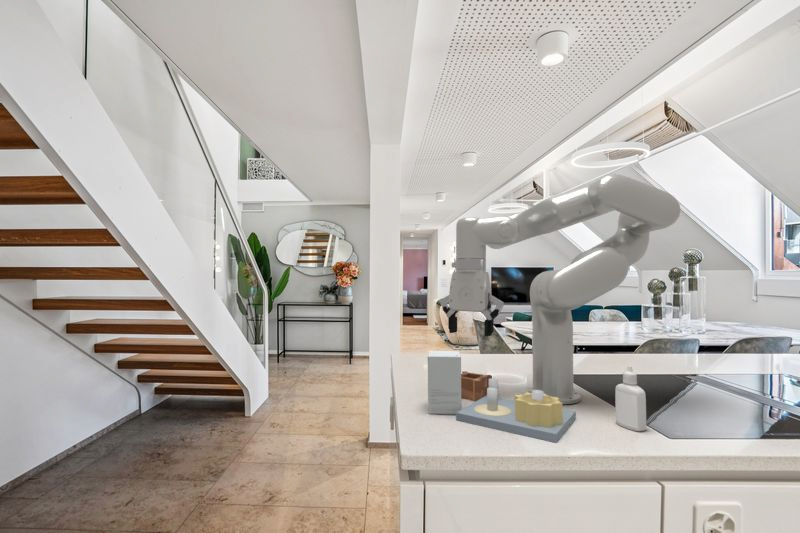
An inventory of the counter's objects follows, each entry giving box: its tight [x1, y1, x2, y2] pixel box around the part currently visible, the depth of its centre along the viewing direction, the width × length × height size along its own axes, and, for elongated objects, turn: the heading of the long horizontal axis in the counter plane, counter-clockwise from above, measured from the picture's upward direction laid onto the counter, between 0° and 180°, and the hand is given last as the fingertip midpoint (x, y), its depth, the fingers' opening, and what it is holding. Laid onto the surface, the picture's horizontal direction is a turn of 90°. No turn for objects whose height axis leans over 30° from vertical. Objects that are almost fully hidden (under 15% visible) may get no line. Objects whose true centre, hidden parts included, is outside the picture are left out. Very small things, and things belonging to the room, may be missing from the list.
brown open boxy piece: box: [461, 371, 493, 402], centre depth 101 cm, size 8×8×5 cm
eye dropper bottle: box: [614, 365, 647, 432], centre depth 80 cm, size 4×6×12 cm
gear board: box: [455, 377, 577, 443], centre depth 84 cm, size 16×20×7 cm
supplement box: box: [427, 350, 462, 415], centre depth 90 cm, size 7×7×13 cm
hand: (470, 334), depth 101 cm, fingers open, 9 cm apart
